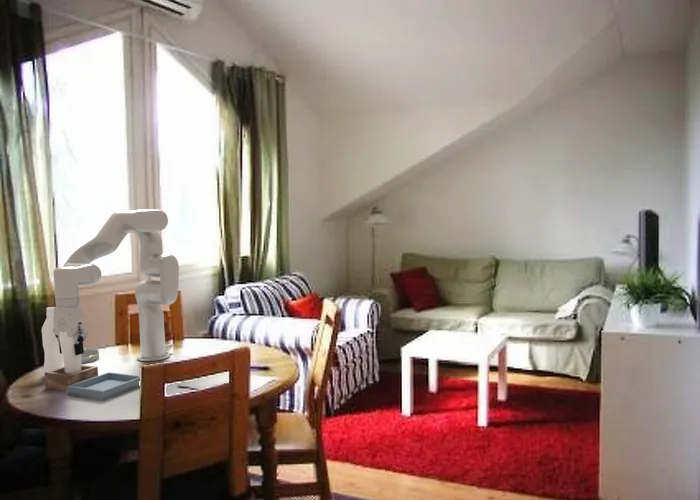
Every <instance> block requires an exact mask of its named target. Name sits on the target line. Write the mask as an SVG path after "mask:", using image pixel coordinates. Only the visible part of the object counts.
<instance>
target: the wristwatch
mask: <svg viewBox="0 0 700 500" xmlns="http://www.w3.org/2000/svg"><path fill="white" fill-rule="evenodd" d="M83 350H84V353H83V354H81V364H86V363H91V362H95V361H96V360H98V359H99V357H100V351H99V350H98V349H96V348H88V347H86V348H83Z"/></svg>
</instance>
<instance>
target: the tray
mask: <svg viewBox="0 0 700 500" xmlns="http://www.w3.org/2000/svg"><path fill="white" fill-rule="evenodd" d="M140 376H141V375H136V374H135V375H134V374H127V373H120V372H119V373H118V372H110V371H108V372H106V373H103V374H98V376H96V377H93V378H90V379H87V380H84V381H81V382H78V383H75V384H72V385H69V386H67V391H66V392H67V396H68V397H69V396H70V397H77V398H83V399H89V400H90V399H91V400H97V401H106V400H110V399H111V398H114V397H117V396H119V395H122V394H124V393H127V392H129V391H132V390H134V389H137V388H140V387H139V381H140Z"/></svg>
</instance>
